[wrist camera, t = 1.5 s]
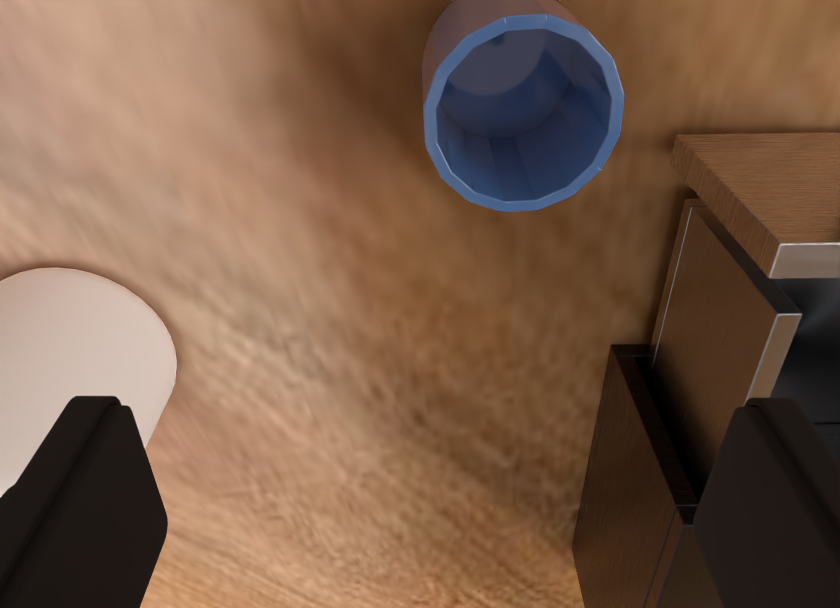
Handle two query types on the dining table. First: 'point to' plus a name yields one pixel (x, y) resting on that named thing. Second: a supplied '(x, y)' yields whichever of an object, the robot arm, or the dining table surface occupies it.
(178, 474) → the dining table surface
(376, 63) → the dining table surface
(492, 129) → the cup
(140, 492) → the robot arm
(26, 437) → the wine bottle
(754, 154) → the drawer
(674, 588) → the black box
